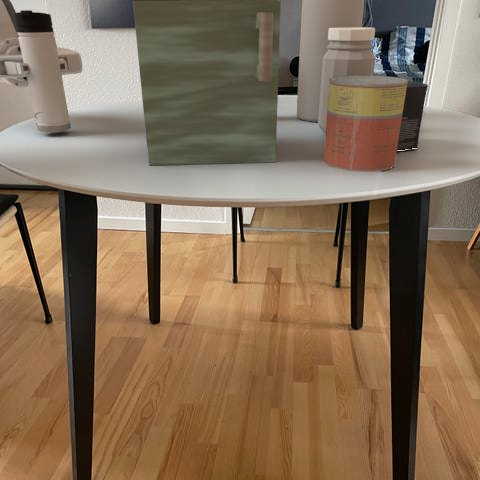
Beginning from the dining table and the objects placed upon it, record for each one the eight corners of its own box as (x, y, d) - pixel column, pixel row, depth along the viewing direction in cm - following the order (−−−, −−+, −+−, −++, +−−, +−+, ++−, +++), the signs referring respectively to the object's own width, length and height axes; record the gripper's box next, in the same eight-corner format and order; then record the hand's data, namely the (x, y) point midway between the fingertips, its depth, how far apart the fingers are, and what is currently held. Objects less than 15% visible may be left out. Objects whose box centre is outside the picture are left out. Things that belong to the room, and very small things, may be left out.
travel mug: (32, 133, 95) (6, 10, 85) (43, 126, 101) (19, 10, 90) (65, 132, 96) (43, 10, 85) (74, 125, 101) (54, 10, 91)
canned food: (378, 153, 85) (389, 74, 78) (407, 170, 75) (422, 83, 69) (314, 155, 83) (320, 76, 77) (334, 174, 74) (343, 85, 67)
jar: (309, 128, 103) (316, 27, 94) (351, 125, 106) (362, 27, 96) (330, 137, 95) (340, 28, 86) (375, 134, 98) (389, 28, 88)
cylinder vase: (335, 125, 106) (348, -17, 93) (285, 119, 112) (291, -15, 99) (361, 116, 114) (376, -15, 101) (313, 111, 121) (322, -13, 107)
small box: (353, 141, 93) (359, 78, 87) (382, 138, 95) (391, 77, 89) (386, 153, 84) (396, 85, 79) (418, 150, 86) (430, 83, 81)
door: (280, 171, 75) (286, -1, 63) (146, 174, 73) (127, 0, 62) (274, 160, 80) (279, 0, 69) (149, 163, 79) (133, 1, 67)
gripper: (-43, 47, 93) (-19, 50, 84) (61, 43, 105) (92, 45, 96) (-33, 84, 97) (-9, 91, 88) (66, 76, 108) (97, 81, 99)
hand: (44, 67), depth 92 cm, fingers closed on travel mug, 6 cm apart
